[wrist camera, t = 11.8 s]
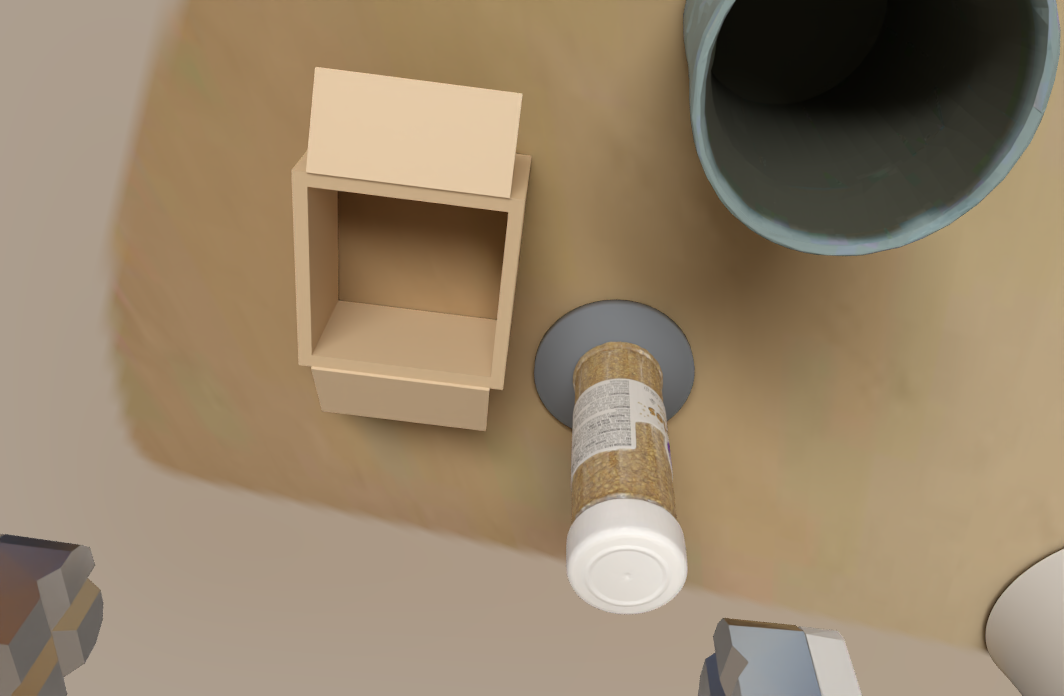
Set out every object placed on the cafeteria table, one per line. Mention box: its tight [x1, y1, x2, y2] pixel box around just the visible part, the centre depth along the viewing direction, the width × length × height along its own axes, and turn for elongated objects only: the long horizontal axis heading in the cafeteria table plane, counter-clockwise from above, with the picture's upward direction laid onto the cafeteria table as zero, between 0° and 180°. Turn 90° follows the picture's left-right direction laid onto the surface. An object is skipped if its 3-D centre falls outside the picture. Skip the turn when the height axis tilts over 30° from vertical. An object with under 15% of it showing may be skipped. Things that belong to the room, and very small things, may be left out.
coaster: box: [534, 300, 694, 429], centre depth 44 cm, size 8×8×1 cm
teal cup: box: [683, 0, 1060, 256], centre depth 30 cm, size 10×10×12 cm
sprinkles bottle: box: [566, 342, 688, 614], centre depth 38 cm, size 5×5×14 cm
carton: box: [291, 67, 532, 431], centre depth 39 cm, size 9×17×5 cm, turn 173°
